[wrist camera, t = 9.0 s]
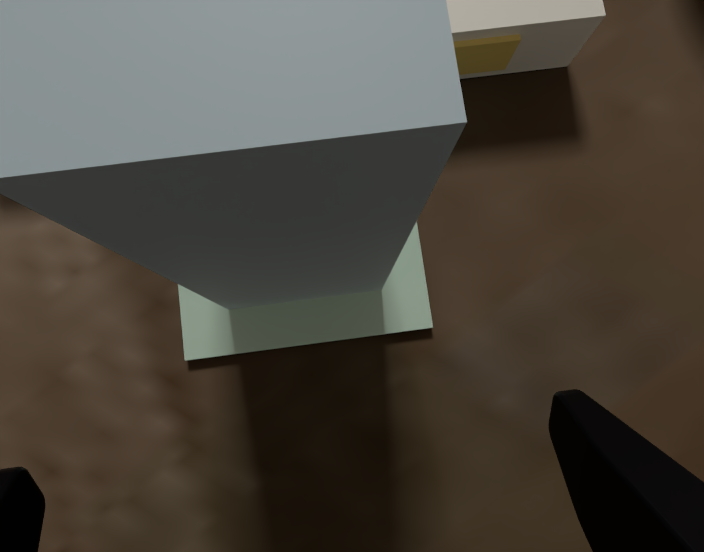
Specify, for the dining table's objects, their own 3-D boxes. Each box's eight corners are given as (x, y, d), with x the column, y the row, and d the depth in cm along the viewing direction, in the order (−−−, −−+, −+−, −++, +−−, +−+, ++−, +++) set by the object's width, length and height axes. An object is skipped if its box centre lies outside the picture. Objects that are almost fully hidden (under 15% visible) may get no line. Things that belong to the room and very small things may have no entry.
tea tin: (381, 289, 19) (467, 121, 6) (228, 309, 19) (-26, 180, 6) (360, 140, 20) (395, -292, 7) (213, 158, 19) (-40, -252, 7)
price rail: (568, 71, 20) (606, 21, 17) (-5, 138, 20) (-66, 98, 17) (561, 35, 21) (598, -21, 18) (-6, 100, 20) (-67, 53, 17)
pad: (431, 328, 19) (432, 327, 19) (187, 360, 19) (184, 360, 18) (396, 100, 20) (397, 96, 20) (166, 127, 20) (164, 124, 20)
